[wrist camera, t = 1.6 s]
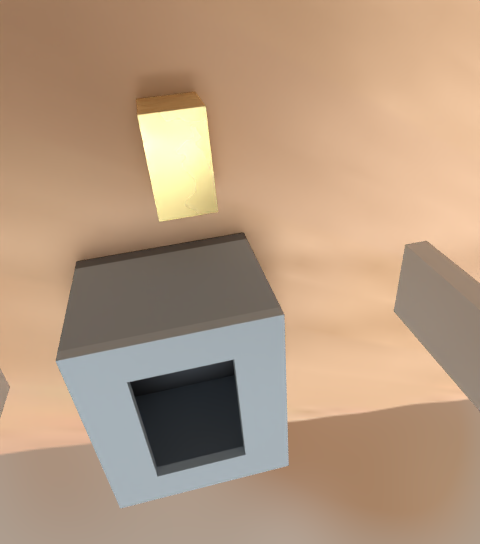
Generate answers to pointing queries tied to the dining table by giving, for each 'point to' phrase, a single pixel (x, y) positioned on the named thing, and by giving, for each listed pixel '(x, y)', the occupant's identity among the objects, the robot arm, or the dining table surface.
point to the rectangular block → (178, 154)
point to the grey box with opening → (177, 366)
